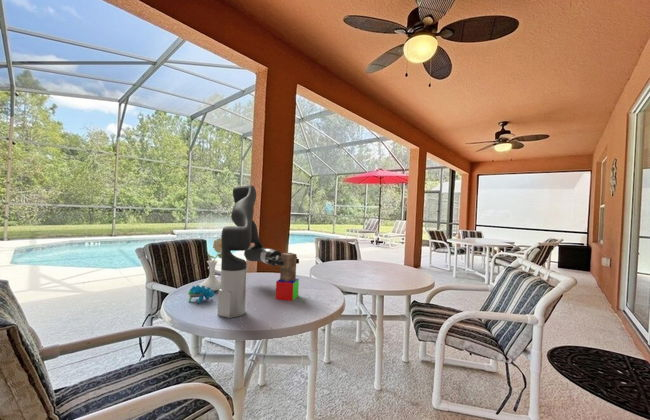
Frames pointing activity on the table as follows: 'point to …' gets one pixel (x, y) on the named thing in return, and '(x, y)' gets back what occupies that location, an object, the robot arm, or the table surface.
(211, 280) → the flower in vase
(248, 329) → the table surface
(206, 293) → the blue toy dinosaur
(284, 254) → the pillar
